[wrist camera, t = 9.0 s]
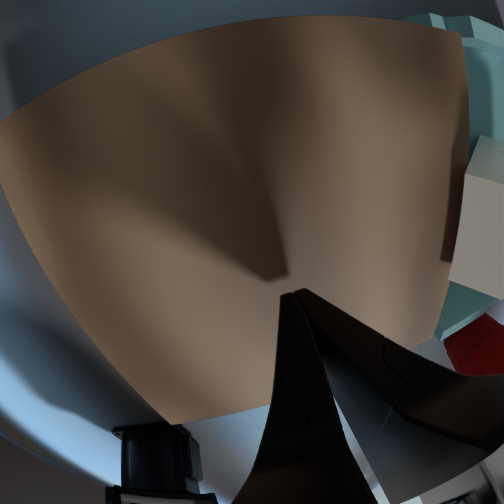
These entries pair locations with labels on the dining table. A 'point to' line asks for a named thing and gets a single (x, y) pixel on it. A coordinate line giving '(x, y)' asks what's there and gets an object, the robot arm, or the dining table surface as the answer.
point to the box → (473, 135)
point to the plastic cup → (478, 347)
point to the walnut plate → (245, 194)
